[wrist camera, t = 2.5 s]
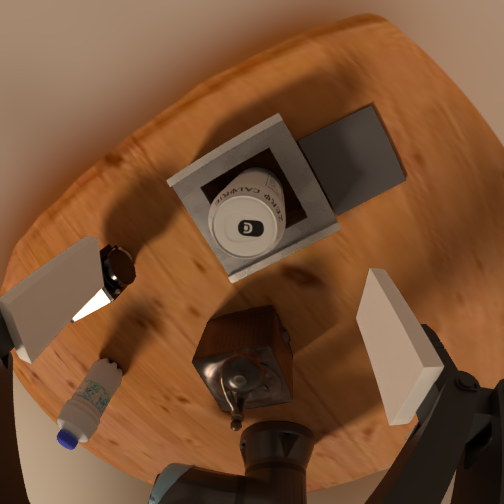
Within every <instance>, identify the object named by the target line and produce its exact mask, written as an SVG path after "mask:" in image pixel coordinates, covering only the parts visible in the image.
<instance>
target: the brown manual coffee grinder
mask: <svg viewBox="0 0 504 504" xmlns="http://www.w3.org/2000/svg"><path fill="white" fill-rule="evenodd" d="M289 341H290V337H289V334H288V332H287V330H286V329H285V328H284V327H283V325H282V323H281V321H280V318H279V316H278V314H277V313H276V311H275V309H274V308H273V306H265V307H257V308H252V309H248V310H244V311H240V312H236V313H231V314H227V315H223V316H221V317H218V318H216V319H213V320H211V321H208V322H207V325H206V327H205V329H204V332H203V334H202V337H201V339H200V342H199V344H198V347H197V349H196V352H195V354H194V357H193V360H192V364H193V365H194V367H195V368H196V370H197V372H198V373H199V375H200V377H201V378H202V380H203V381H204V383H205V384H206V386H207V388H208V389H209V391H210V392H211V394H212V395H213V397H214V398H215V400H216V401H217V403H218V405H219V406H220V408H221V409H222V411H231V414H232V418H231V420H232V422H231V426H230V427H231V429H232V430H234V431H238V430H239V429H240V428H242V424H241V422H242V421H243V420H244V414H243V413H242V412H243V409H250V408H257V407H264V406H270V405H276V404H282V403H287V402H292V399H293V380H292V359H293V355H292V351H291V348H290V344H289Z"/></svg>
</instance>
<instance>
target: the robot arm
mask: <svg viewBox="0 0 504 504" xmlns="http://www.w3.org/2000/svg"><path fill="white" fill-rule="evenodd" d="M103 287H104V282H103V275H102V268H101V260H100V252H99V243H98V238H97V237H88V236H86V237H84V238H83V239H81V240H80V241H78V242H77V243H75V244H74V245H72V246H71V247H69V248H68V249H66V250H65V251H63V252H62V253H60V254H59V255H57V256H56V257H54V258H53V259H51V260H50V261H48V262H47V263H46V264H44V265H43V266H41V267H40V268H39V269H37V270H36V271H34V272H33V273H32V274H30V275H29V276H28V277H26V278H25V279H23V280H22V281H21V282H19V283H18V284H17V285H16V286H14V287H13V288H12V289H10V290H9V291H8V292H6V293H5V294H4V295H3V296H1V297H0V504H30V502H29V500H28V497H27V493H26V488H25V484H24V479H23V475H22V469H21V464H20V458H19V452H18V445H17V438H16V429H15V417H14V405H13V404H14V403H13V357H12V354H11V352H10V351H11V350H12V349H13V348H14V347H15V349H16V351H17V354H18V356H19V358H20V359H22V360H24V361H26V362H28V363H31V364H32V363H33V362H34V361H35V360H36V358H37V357H38V356H39V355H40V354H41V353H42V352H43V350H44V349H45V348H46V347H47V346H48V345H49V344H50V343H51V341H52V340H53V339H54V338H55V337H56V336H57V335H58V334H59V333H60V331H61V330H62V329H63V328H64V327H65V326H66V325H67V324H68V323H69V322H70V321H71V320H72V319H73V317H74V316H75V315H76V314H77V313H78V312H79V311H80V310H81V309H82V308H83V307H84V306H85V305H86V304H87V303H88V302H89V301H90V300H91V299H92V298H93V297H94V296H95V295H96V294H97V293H98V292H99V291H100V290H101V289H102V288H103ZM356 320H357V323H358V326H359V328H360V331H361V334H362V337H363V340H364V343H365V346H366V349H367V352H368V355H369V358H370V362H371V365H372V368H373V371H374V374H375V377H376V381H377V384H378V387H379V391H380V394H381V398H382V401H383V404H384V408H385V412H386V415H387V419H388V422H389V425H400V424H409V422H410V421H411V419H412V418H413V416H414V415H415V413H416V414H417V417H418V420H419V422H418V423H417V425H416V426H415V427H414V429H413V430H412V431H411V433H410V434H409V435H408V437H407V438H406V440H407V442H406V443H405V445H404V447H403V448H402V450H401V452H400V453H399V455H398V456H397V458H396V460H395V461H394V463H393V464H392V466H391V467H390V469H389V470H388V472H387V474H386V475H385V477H384V478H383V479H382V481H381V482H380V483H379V485H378V486H377V488H376V489H375V490H374V492H373V493H372V495H371V496H370V497H369V498H368V500H367V501H366V502H365V504H441V502H442V499H443V498H444V495H445V493H446V491H447V489H448V487H449V485H450V482H451V480H452V478H453V475H454V473H455V470H456V476H455V482H454V488H453V494H452V499H451V503H450V504H504V379H502V380H500V381H499V383H498V384H497V386H496V387H495V388H494V389H489V388H483V387H480V385H479V383H478V381H477V380H476V379H475V377H474V376H472V375H471V374H469V373H467V372H464V371H458V369H457V368H456V366H455V364H454V363H453V361H452V359H451V357H450V356H449V354H448V352H447V351H446V349H444V346H443V344H442V343H441V342H440V339H439V338H438V336H437V334H436V333H435V332H434V331H433V330H432V329H431V328H430V327H429V326H427V325H426V324H420V323H419V322H418V320H417V318H416V317H415V315H414V314H413V312H412V310H411V309H410V307H409V306H408V304H407V302H406V301H405V299H404V298H403V296H402V295H401V293H400V292H399V290H398V289H397V287H396V286H395V284H394V283H393V281H392V280H391V278H390V277H389V275H388V274H387V272H386V271H385V269H377V268H370V269H369V273H368V276H367V280H366V284H365V288H364V291H363V295H362V299H361V302H360V306H359V309H358V312H357V316H356ZM313 448H314V438H313V434H312V433H311V431H310V430H308V429H307V428H305V427H304V426H301V425H299V424H295V423H291V422H283V421H271V422H263V423H259V424H256V425H253V426H251V427H249V428H247V429H246V430H245V431H244V432H243V433H242V435H241V439H240V450H241V454H242V458H243V462H244V465H245V476H241V475H235V474H229V473H224V472H219V471H214V470H209V469H204V468H200V467H197V466H195V465H191V466H190V465H185V464H180V463H171V464H169V465H168V466H167V467H165V468H164V470H163V471H162V472H161V474H160V476H159V477H158V479H157V481H156V483H155V485H154V488H153V490H152V493H151V494H152V496H151V497H150V500H149V504H307V501H306V500H307V496H306V468H307V465H308V463H309V460H310V457H311V454H312V451H313ZM456 468H457V469H456Z"/></svg>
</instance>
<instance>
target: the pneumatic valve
mask: <svg viewBox="0 0 504 504" xmlns="http://www.w3.org/2000/svg"><path fill="white" fill-rule="evenodd" d="M99 252H100V260H101V268H102V275H103V282H104V287H103V288H102V289H101V290H100V291H99V292H98V293H97V294H96V295H95V296H94V297H93V298H92V299H91V300H90V301H89V302H88V303H87V304H86V305H85V306H84V307H83V308H82V309H81V310H80V311H79V312H78V313H77V314H76V315H75V316H74V317H73V319H72V320H71V322H72V323H73V322H75V321H77V320H79V319H81V318H83V317H84V316H86V315H88V314H90V313H92V312H94V311H95V310H97V309H99V308H101V307H103V306H105V305H107V304H108V303H110V302H112V301H114V300H115V299H116V298H117V297H118V296H119V295H120V294H121V293H122V291H123V290H124V289H125V288H126V287H127V286H128V285H129V284H131V283H133V281H134V280H135V277H136V272H135V267H134V264H133V262H132V257H131V255H130V254H129V252H127V251H125V250H124V249H123V247H117V246H116V245H115V246H114V247H111V246H110V244H108V245H107V246H106V247H104V248H103V249H101V250H100V251H99Z"/></svg>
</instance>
